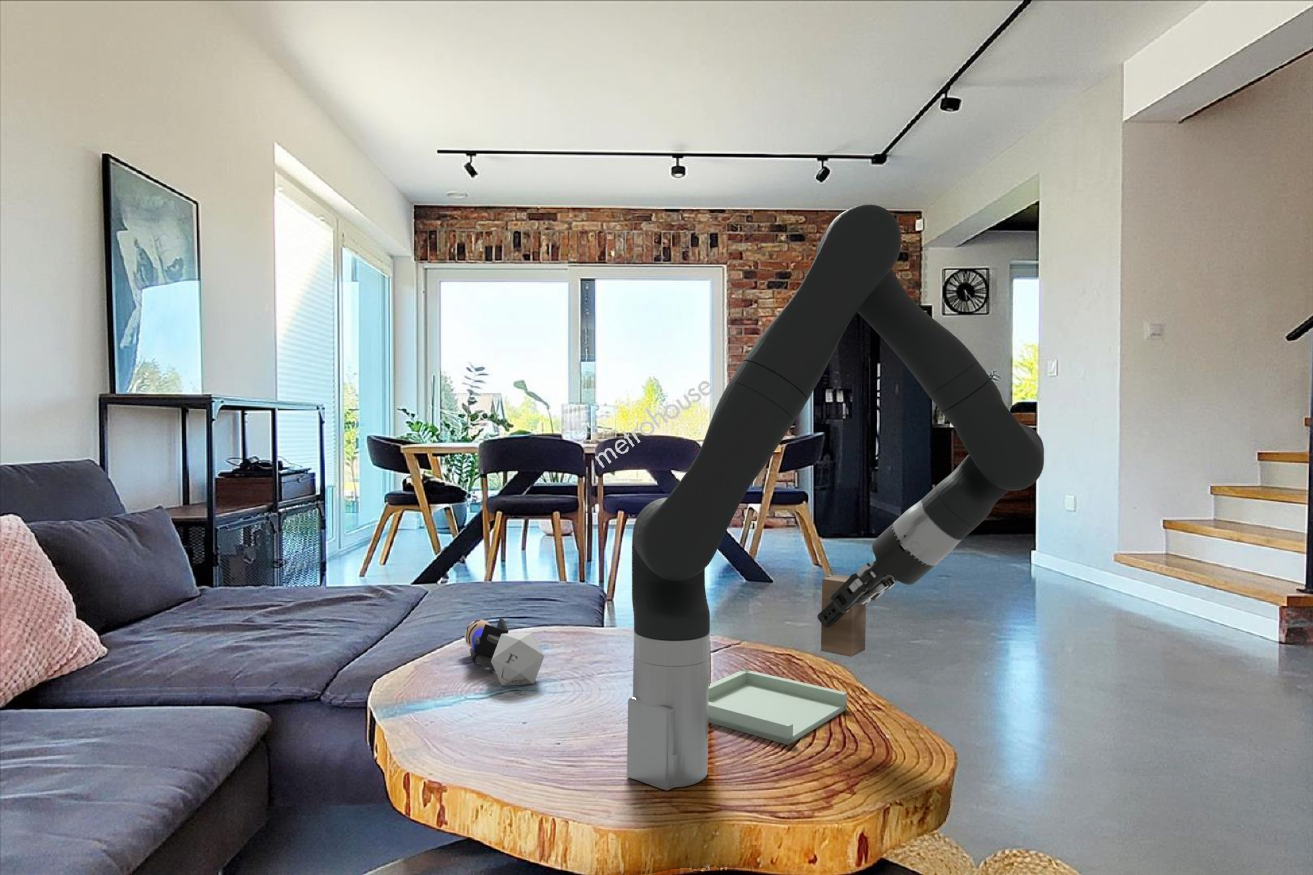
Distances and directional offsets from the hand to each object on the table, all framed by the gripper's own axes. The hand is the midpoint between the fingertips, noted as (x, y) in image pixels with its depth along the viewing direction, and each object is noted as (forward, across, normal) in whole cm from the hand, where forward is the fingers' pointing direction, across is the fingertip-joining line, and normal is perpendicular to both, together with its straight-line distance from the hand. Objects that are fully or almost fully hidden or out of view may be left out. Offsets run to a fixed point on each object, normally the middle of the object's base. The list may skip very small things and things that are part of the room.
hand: (830, 618), depth 116 cm
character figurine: (+54, +10, -32) cm, 64 cm away
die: (+45, +14, -23) cm, 53 cm away
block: (+2, 0, +4) cm, 5 cm away
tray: (+18, 0, +4) cm, 19 cm away
